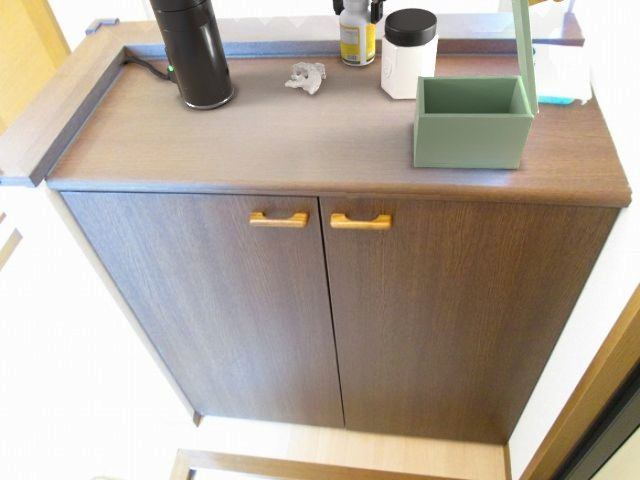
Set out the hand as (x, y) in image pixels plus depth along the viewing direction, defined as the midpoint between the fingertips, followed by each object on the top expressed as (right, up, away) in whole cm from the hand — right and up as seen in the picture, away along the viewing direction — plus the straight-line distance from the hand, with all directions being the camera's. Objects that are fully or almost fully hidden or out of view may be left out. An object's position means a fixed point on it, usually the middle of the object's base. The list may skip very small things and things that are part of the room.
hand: (357, 17), depth 83 cm
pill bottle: (+1, -5, +6) cm, 8 cm away
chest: (+15, -26, -13) cm, 33 cm away
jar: (+9, -13, -1) cm, 16 cm away
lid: (+18, -16, -26) cm, 35 cm away
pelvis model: (-9, -12, +2) cm, 15 cm away
